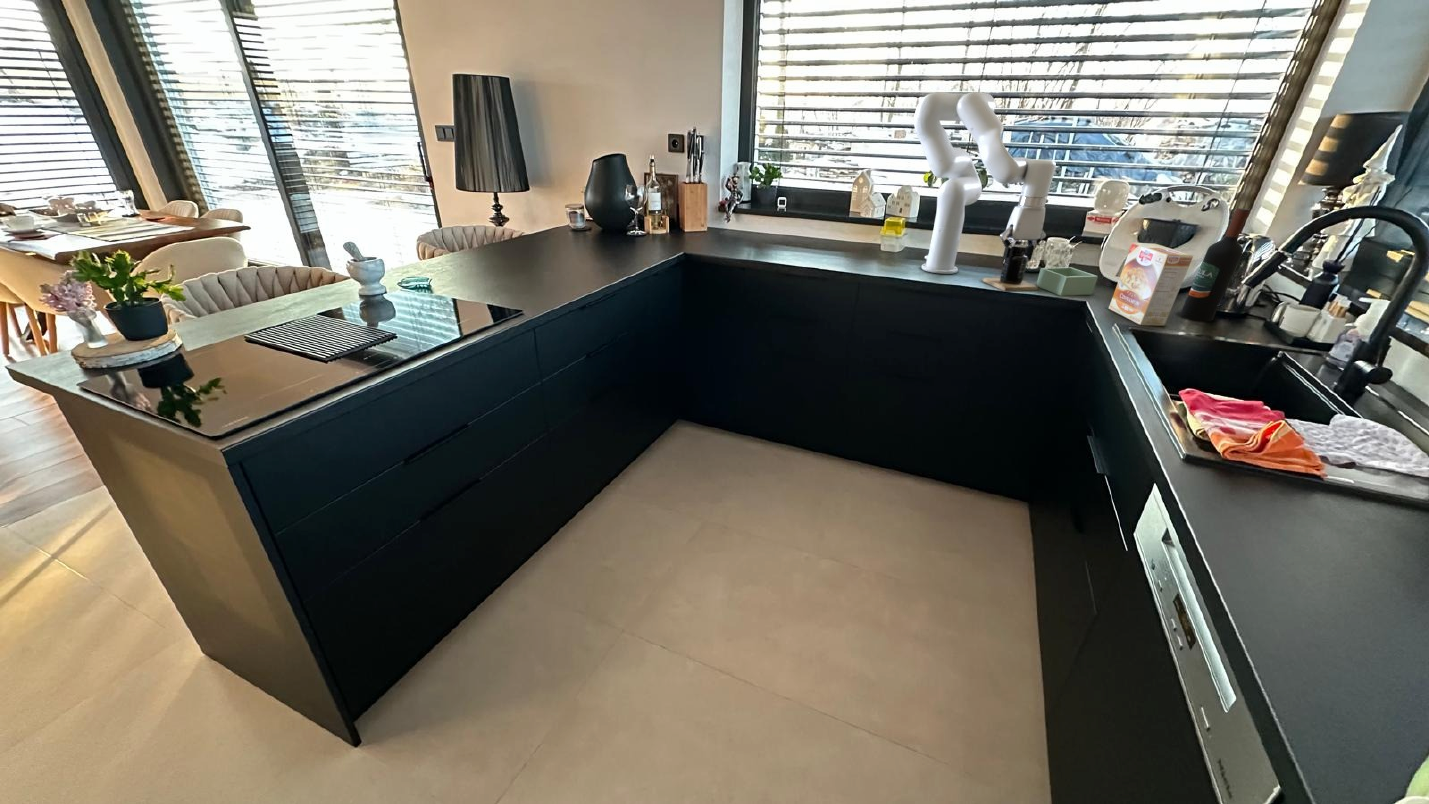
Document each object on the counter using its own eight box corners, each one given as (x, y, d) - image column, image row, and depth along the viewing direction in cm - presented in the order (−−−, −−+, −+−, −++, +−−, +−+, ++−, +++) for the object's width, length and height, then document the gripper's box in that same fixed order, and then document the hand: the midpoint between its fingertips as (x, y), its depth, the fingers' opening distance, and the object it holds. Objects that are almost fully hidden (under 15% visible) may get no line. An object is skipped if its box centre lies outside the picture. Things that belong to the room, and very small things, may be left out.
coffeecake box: (1107, 308, 167) (1131, 242, 158) (1131, 309, 167) (1156, 243, 157) (1139, 325, 153) (1167, 254, 144) (1165, 326, 153) (1195, 255, 144)
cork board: (982, 281, 191) (983, 277, 191) (1013, 280, 193) (1014, 276, 193) (1004, 291, 181) (1005, 287, 180) (1037, 290, 183) (1038, 286, 182)
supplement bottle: (1017, 279, 189) (1027, 244, 184) (1024, 285, 183) (1035, 248, 178) (996, 278, 190) (1005, 243, 184) (1003, 284, 184) (1013, 247, 178)
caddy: (1035, 285, 188) (1040, 268, 185) (1065, 284, 190) (1071, 267, 187) (1060, 295, 178) (1066, 277, 175) (1091, 294, 180) (1098, 276, 177)
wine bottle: (1214, 323, 156) (1265, 212, 142) (1181, 318, 160) (1227, 209, 146) (1210, 316, 162) (1259, 208, 148) (1178, 311, 166) (1223, 206, 152)
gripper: (1047, 200, 180) (1031, 256, 188) (999, 200, 177) (985, 257, 185) (1064, 204, 173) (1047, 261, 181) (1015, 204, 170) (1000, 262, 178)
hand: (1016, 258), depth 183 cm, fingers closed on supplement bottle, 6 cm apart
